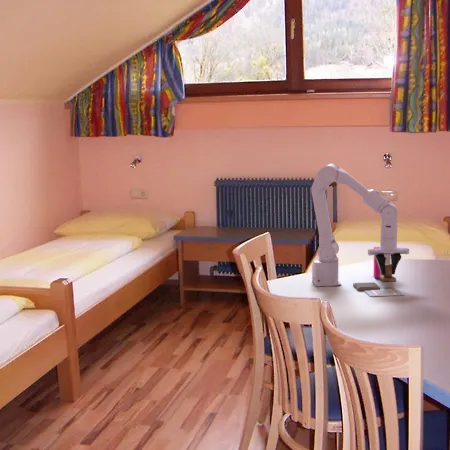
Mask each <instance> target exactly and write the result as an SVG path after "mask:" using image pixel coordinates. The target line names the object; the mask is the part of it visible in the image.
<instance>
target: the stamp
mask: <svg viewBox="0 0 450 450" xmlns="http://www.w3.org/2000/svg"><path fill="white" fill-rule="evenodd" d="M379 281H381V282H382V283H397V278H396V277H395V276H394V275H393V274H392V264H385V275H384V276H380V279H379Z"/></svg>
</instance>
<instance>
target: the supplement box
mask: <svg viewBox="0 0 450 450" xmlns="http://www.w3.org/2000/svg"><path fill="white" fill-rule="evenodd" d="M376 248H380V246H374V247H373V249H376ZM385 257H386V261H385V264H391V254H387V255H385ZM373 276H374V279H375V280H380V276H384V275H382V274H381V269H380V265H379V262H378V260H377V258H376V255H373Z"/></svg>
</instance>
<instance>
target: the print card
mask: <svg viewBox="0 0 450 450" xmlns="http://www.w3.org/2000/svg"><path fill="white" fill-rule="evenodd" d="M364 292H365V294H366V295H367V296H369V297H370V298H376V297H375V296H380V297H397V296H399V297H400V295H403V296H405V293H403V292H402V291H400V290H399V289H395V288H394V289H391V288H390V289H380V290H371V291H364Z"/></svg>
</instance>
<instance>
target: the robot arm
mask: <svg viewBox="0 0 450 450" xmlns="http://www.w3.org/2000/svg"><path fill="white" fill-rule="evenodd" d="M335 181H336V182H335ZM334 182H335V184H341V185H342V184H343V185H346V186H347V187H348V188H349V189H351V190H353V192H355V193H357V194H358V195H360V196H361V197H362V199H363V200H362V202H363V203H364V204H366V205H367V206H368V207H369V208H370V209H372V210H373V211H375V213H379V215H380V218H381V224H380V245H379V247H380V248H376V249H374V248H367V255H368V256H374V255H376V258H377V260H378V262H379V265H380V269H381V274H382V275H385V261H386V257H385V255H387V254H391V264H392V276H394V275H395V274H396V270H397V267H398V264H399V262H400V261H401V259H402V255H410V248H408V247H397V245H398V224H397V223H398V218H397V217H398V214H399V208H398V206H397V205H396V204H395V202H391V200H390V199H389V198H388V199H387V198H385V197H384V196H383V195H381V194H380V193H381V191H379V190H378V189H377V190H375V189H368V187H366V186H364V185H363V184H362V183H361V182H360V181H358V180H357V179H356V178H355V177H354V176H352V174H351V173H348V172H347V171H346V169H344V168H342V167H339V165H337V164H336V163H328V164H326V165H325V166H323V167H322V168H320V170H318V171H317V173H316V176H315V178H314V181H313V183H312V184H311V187H310V190H311V191H310V192H311V196H312V202H313V208H314V209H313V210H314V212H315V213H314V214H315V219H316V225H317V230H318V235H319V237H318V239H319V240H318V244H319V245H318V246H319V248H318V251H317V255H318V259H316V260H313V261H312V265H311V266H312V269H311V275H312V277H311V278H312V279H311V281H312V283H313V284H314V286H315V287H332V286H342V283H341V282H340V281H339V257H338V256H337V254H338V253H339V250H340V248H339V244H338V243H337V242H336V238H335V236H334V233H333V229H332V228H333V227H332V224H331V216H330V211H329V206H328V200H327V194H326V191H327V190H328V188H329V186H331V184H332V183H334Z"/></svg>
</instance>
